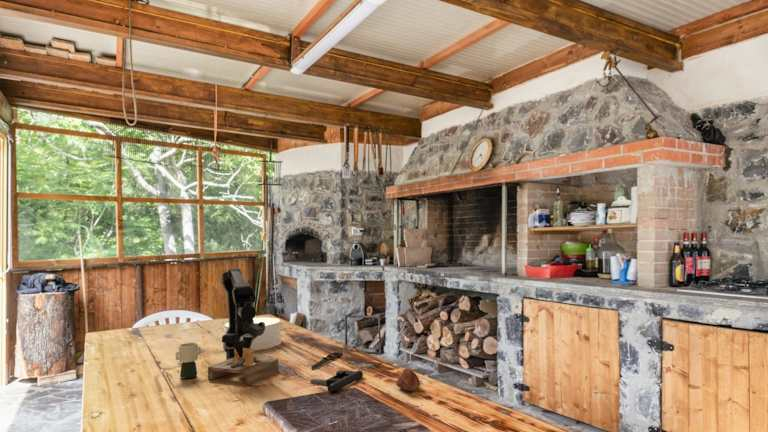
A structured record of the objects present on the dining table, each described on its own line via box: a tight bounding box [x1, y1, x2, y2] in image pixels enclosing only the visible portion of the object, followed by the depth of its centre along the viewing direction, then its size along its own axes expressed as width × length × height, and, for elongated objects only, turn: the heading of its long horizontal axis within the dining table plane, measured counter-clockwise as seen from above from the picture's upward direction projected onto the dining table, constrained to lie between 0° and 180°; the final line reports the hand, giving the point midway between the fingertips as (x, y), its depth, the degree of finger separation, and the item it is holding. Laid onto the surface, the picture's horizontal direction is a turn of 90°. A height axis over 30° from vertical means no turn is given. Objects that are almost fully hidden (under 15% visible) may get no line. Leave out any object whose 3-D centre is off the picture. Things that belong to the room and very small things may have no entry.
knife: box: [310, 351, 344, 371], centre depth 202 cm, size 26×7×2 cm, turn 155°
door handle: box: [310, 369, 364, 393], centre depth 172 cm, size 3×20×16 cm
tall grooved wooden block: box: [234, 348, 255, 367], centre depth 185 cm, size 7×3×6 cm, turn 67°
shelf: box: [207, 353, 279, 385], centre depth 185 cm, size 20×18×7 cm
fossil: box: [395, 368, 421, 392], centre depth 163 cm, size 13×8×10 cm
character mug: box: [175, 342, 202, 379], centre depth 185 cm, size 11×7×13 cm, turn 147°
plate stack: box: [223, 317, 282, 351], centre depth 240 cm, size 28×28×12 cm
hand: (243, 356), depth 185 cm, fingers open, 3 cm apart
